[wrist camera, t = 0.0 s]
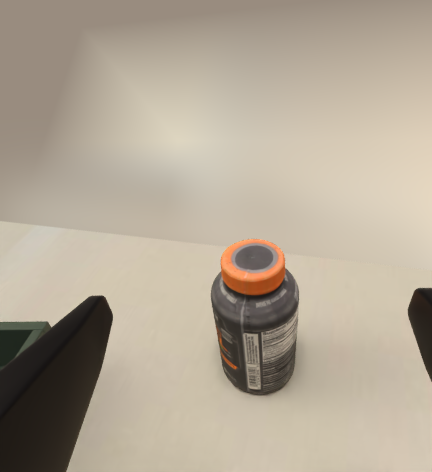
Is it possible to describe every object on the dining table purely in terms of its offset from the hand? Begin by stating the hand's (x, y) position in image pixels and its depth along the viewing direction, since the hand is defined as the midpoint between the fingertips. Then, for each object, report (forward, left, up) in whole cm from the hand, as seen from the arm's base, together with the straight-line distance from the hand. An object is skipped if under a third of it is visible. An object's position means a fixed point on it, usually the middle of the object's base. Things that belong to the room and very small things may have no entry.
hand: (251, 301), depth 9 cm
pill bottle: (+9, 0, -17) cm, 19 cm away
